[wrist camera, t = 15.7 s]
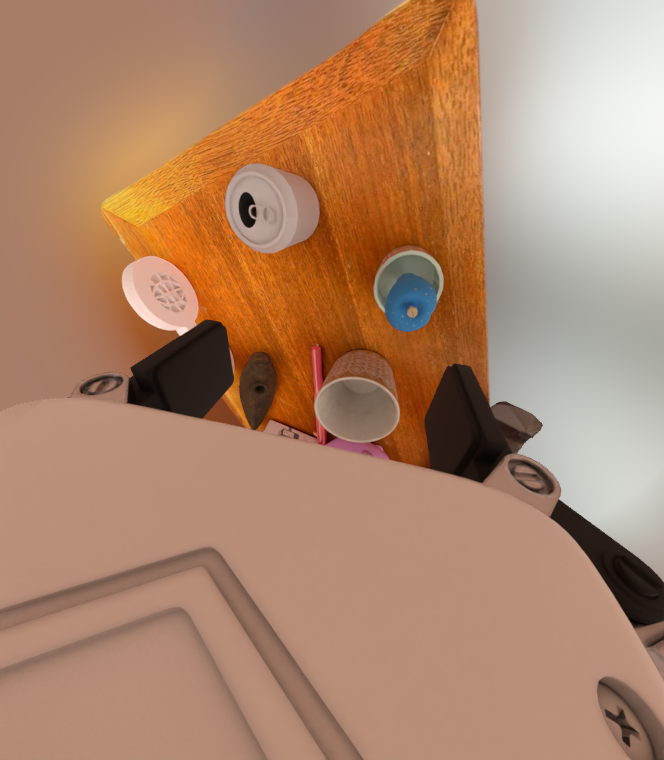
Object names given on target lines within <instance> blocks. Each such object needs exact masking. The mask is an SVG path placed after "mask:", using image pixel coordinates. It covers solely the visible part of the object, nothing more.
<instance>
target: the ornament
mask: <svg viewBox="0 0 664 760" xmlns="http://www.w3.org/2000/svg"><path fill="white" fill-rule="evenodd" d="M436 303H437V296H436V292H435V289H434V288H433V286H432V285H431V284H430V283H429V282H427V281H426V280H425V279H423V278H422V277H419V276H416V275H415V274H412V273H406V274H403V275H401V276H400V277H399V278H398V279H397V281H396V283H395V284H394V285H393V286H392V288H391V290H390V292H389V294H388V296H387V299H386V302H385V314H386V317H387V320H388V322H389V323H390V324H391V325H392V326H393V327H394V328H395V329H397V330H400V331H405V332H409V331H414V330H417V329H419V328H421V327H423V326H424V325H426V324H427V323H428V321H429V319H430V316H431V314H432V313H433V311H434V310H435V307H436Z"/></svg>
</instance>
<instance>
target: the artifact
mask: <svg viewBox="0 0 664 760" xmlns="http://www.w3.org/2000/svg"><path fill="white" fill-rule="evenodd" d="M239 388H240V399H241V403H242V406H243V409H244V412H245V415H246V418H247V420H248V423H249V425H250V427H251V429H252V430H256V429H257V428H258V427H259V425H260V424H261V422H262V421H263V419H264V417H265V415H266V413H267V411H268V409H269V407H270V405H271V402H272V400H273V397H274V393H275V389H276V373H275V370H274V367H273V365H272V363H271V360H270V357H269V355H268V354H266V353H264V352H256V353H253V354H252V355H251V356H250V359H249V361H248V362H247V364H246V365H245V367H244V369H243V371H242V373H241V376H240V385H239Z"/></svg>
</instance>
